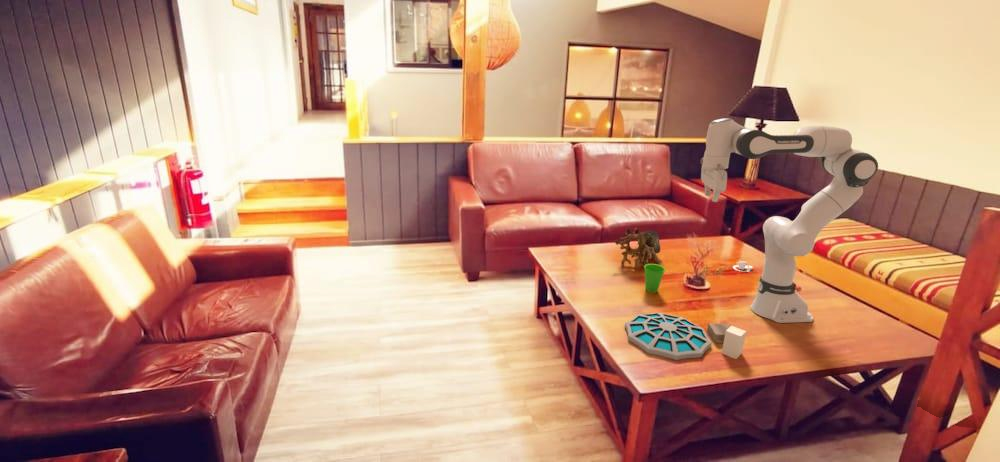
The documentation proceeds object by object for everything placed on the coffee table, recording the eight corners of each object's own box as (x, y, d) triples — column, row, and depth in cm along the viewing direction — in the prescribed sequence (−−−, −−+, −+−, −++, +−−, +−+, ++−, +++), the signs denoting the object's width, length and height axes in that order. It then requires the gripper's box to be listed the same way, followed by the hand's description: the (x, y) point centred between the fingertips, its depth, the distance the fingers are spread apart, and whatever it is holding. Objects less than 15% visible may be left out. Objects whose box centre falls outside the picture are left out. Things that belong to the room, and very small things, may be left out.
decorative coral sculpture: (672, 242, 255) (675, 251, 228) (646, 273, 261) (645, 286, 234) (634, 214, 259) (632, 220, 232) (609, 246, 265) (604, 255, 238)
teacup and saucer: (752, 269, 243) (754, 261, 242) (750, 274, 237) (752, 266, 236) (733, 265, 248) (735, 257, 246) (731, 270, 241) (732, 262, 240)
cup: (663, 295, 212) (666, 272, 208) (641, 293, 213) (644, 270, 210) (660, 287, 220) (664, 264, 216) (640, 284, 222) (643, 262, 218)
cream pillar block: (727, 347, 173) (731, 325, 170) (741, 353, 170) (746, 331, 167) (721, 353, 170) (725, 330, 167) (736, 359, 167) (740, 336, 164)
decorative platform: (621, 314, 196) (622, 303, 194) (695, 320, 193) (697, 309, 191) (632, 357, 167) (633, 345, 165) (720, 365, 164) (722, 352, 162)
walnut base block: (728, 332, 183) (730, 324, 182) (736, 344, 176) (738, 335, 175) (706, 331, 184) (708, 323, 183) (713, 342, 176) (715, 334, 175)
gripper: (733, 167, 171) (728, 205, 175) (716, 158, 191) (711, 193, 195) (715, 167, 172) (710, 204, 176) (699, 158, 191) (695, 192, 195)
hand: (710, 198), depth 186 cm, fingers open, 8 cm apart
